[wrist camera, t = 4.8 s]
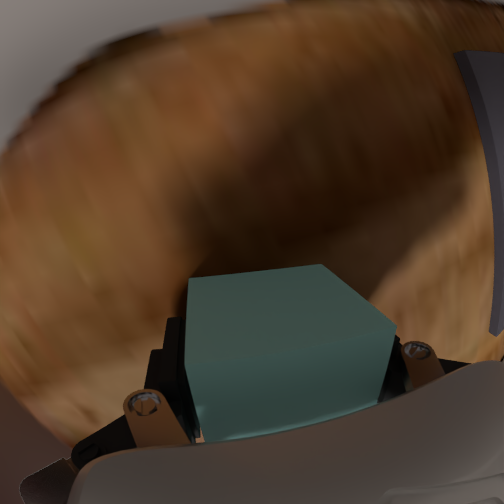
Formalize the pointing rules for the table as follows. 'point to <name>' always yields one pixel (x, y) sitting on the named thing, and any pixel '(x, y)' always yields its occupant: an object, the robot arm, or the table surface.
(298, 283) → the teal block
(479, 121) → the notebook
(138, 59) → the table surface
